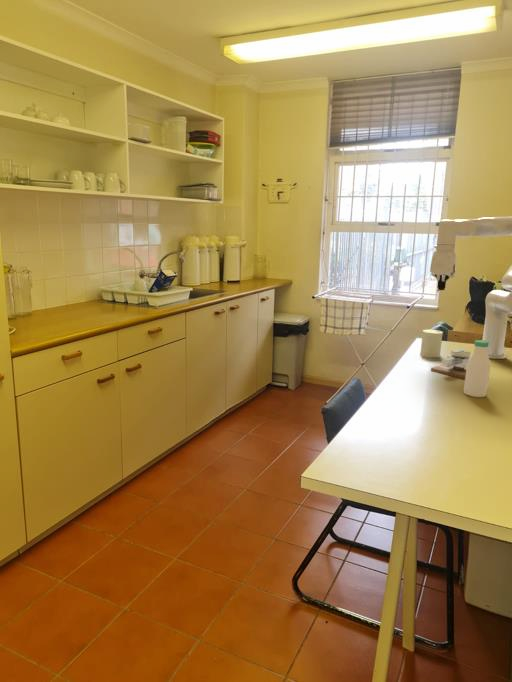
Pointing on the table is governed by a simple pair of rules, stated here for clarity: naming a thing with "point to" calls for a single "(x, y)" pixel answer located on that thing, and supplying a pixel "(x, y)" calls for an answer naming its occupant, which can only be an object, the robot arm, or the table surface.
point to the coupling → (455, 360)
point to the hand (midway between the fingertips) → (441, 289)
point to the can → (431, 343)
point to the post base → (451, 370)
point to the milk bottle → (477, 371)
